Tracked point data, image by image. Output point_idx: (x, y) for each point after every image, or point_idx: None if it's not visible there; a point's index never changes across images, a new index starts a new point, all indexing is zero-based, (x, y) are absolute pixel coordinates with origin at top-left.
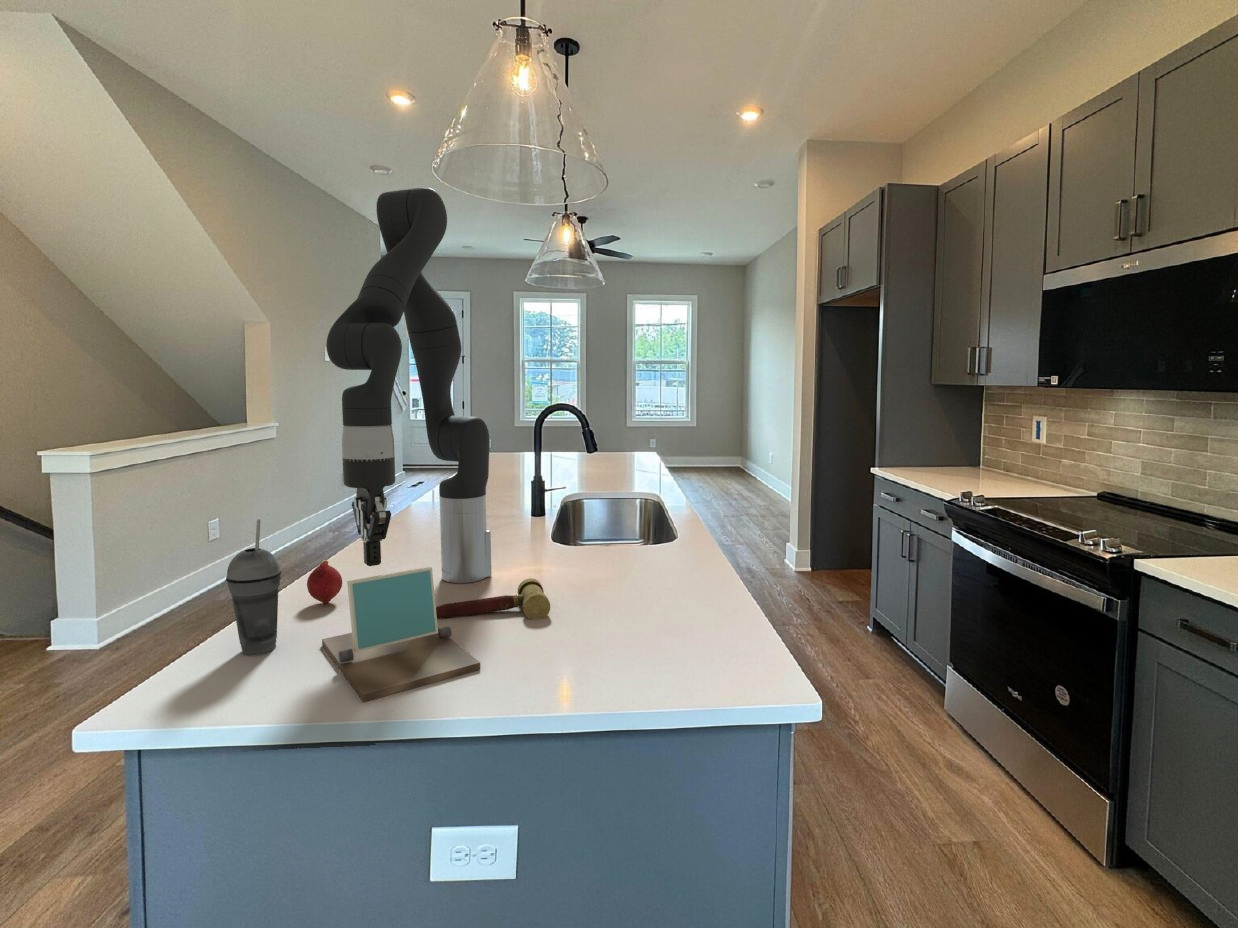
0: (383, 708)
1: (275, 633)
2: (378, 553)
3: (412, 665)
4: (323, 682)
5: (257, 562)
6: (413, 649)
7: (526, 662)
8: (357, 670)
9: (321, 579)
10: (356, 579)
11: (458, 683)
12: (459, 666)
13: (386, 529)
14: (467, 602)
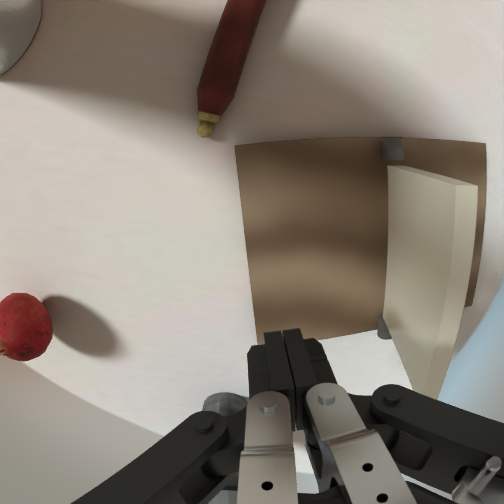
0: (487, 282)
1: (236, 410)
2: (326, 361)
3: None
4: None
5: None
6: None
7: (483, 80)
8: None
9: (35, 345)
10: (425, 388)
11: (493, 187)
12: (482, 174)
13: (459, 412)
14: (238, 37)
